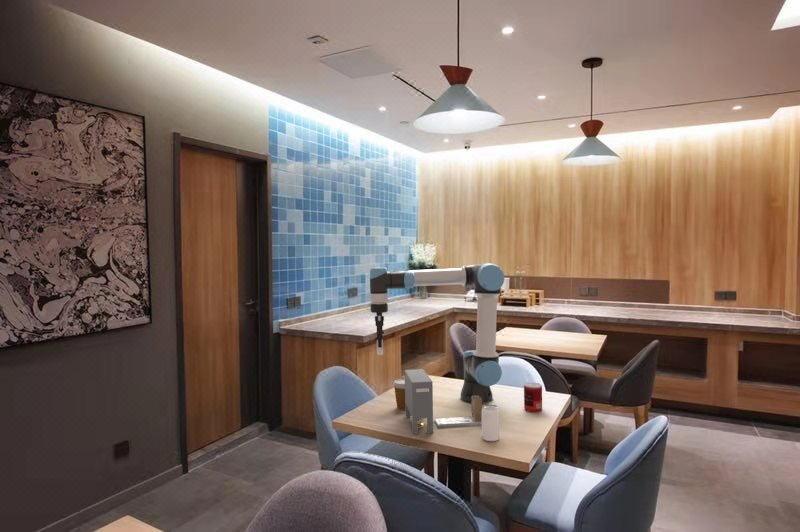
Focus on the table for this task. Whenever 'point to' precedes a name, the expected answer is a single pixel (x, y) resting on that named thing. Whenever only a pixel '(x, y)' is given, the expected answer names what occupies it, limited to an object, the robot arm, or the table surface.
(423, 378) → the gray cabinet
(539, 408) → the canned food
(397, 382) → the disposable coffee cup
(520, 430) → the table surface
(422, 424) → the brass token
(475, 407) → the steel scraper
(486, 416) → the can
